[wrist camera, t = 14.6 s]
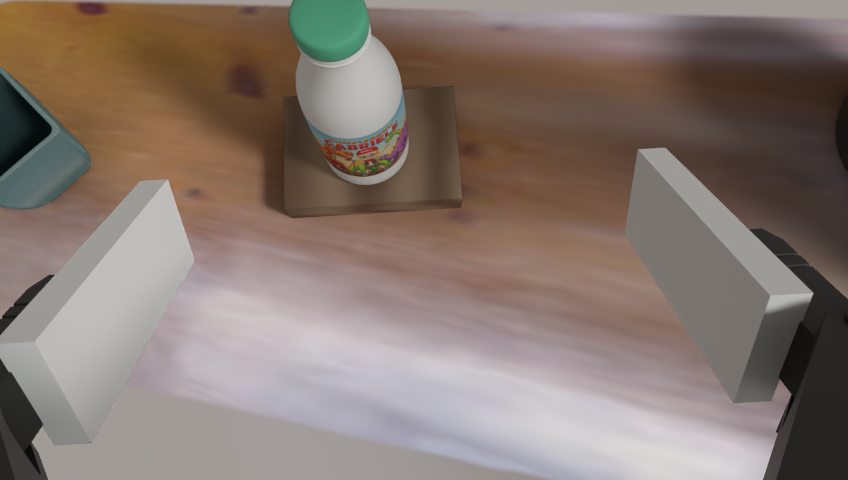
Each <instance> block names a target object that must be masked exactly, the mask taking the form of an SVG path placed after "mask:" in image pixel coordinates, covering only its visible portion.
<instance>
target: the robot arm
mask: <svg viewBox="0 0 848 480" xmlns="http://www.w3.org/2000/svg"><path fill="white" fill-rule="evenodd" d="M837 142H838V147H839V151H840V154H841V157H842V159H843V162H844V164H845V166H846V168H847V169H848V97H847V98H846V100H845V101H844V103H843V105H842V107H841V110H840V113H839V116H838V121H837ZM625 235H626V237H627V238H628V240H629V242H630V243H631V245H632V246H633V248H634V249H635V251H636V252H637V254H638V256H639V257H640V259H641V260H642V262H643V263H644V265H645V266H646V268H647V270H648V271H649V273H650V274H651V276H652V277H653V279H654V280H655V282H656V284H657V285H658V287H659V288H660V290H661V291H662V293H663V294H664V296H665V298H666V299H667V301H668V302H669V304H670V305H671V307H672V308H673V310H674V311H675V313H676V315H677V316H678V318H679V319H680V321H681V322H682V324H683V325H684V327H685V329H686V330H687V332H688V333H689V335H690V336H691V338H692V339H693V341H694V343H695V344H696V346H697V347H698V349H699V350H700V352H701V353H702V355H703V357H704V358H705V360H706V361H707V363H708V364H709V366H710V367H711V369H712V371H713V372H714V374H715V375H716V377H717V378H718V380H719V381H720V383H721V385H722V386H723V388H724V389H725V391H726V392H727V394H728V395H729V397H730V399H731V400H732V402H733V403H744V402H760V401H771V400H772V397H773V395H774V392H775V390H776V387H777V385H778V382H779V379H780V380H781V381H782V382H783V384H784V385H785V386H786V387H787V389H788V390H789V391H790V393H791V394H792V395H791V397H790V400H789V402H788V404H787V407H786V409H785V411H784V414H783V416H782V419H781V421H780V423H779V426H778V428H777V431H776V432H777V433H778V435H777V438H776V441H775V444H774V447H773V450H772V454H771V457H770V460H769V463H768V466H767V469H766V472H765V475H764V479H763V480H848V299H847V298H846V297H845V296H844V295H843V294H841V293H840V292H839V291H838V290H837V289H836V288H835V287H834V286H833V285H832V284H831V283H830V282H828V281H827V280H826V279H825V278H824V277H823V276H822V275H821V274H820V273H819V272H818V271H816V270H815V269H814V268H813V267H810V266H809V263H808V262H807V261H806V260H805V259H803V258H802V257H801V256H798V255H797V252H796V251H795V250H794V249H793V248H791V247H790V246H789V245H788V244H787V243H786V242H785V241H784V240H783V239H781V238H779V237H777V236H775V235H773V234H771V233H769V232H767V231H765V230H763V229H748V228H747V227H746V226H745V225H744V224H743V223H742V222H741V221H740V220H739V219H738V218H737V217H736V216H735V215H734V214H733V213H731V212H730V211H729V210H728V209H727V208H726V207H725V206H724V205H723V204H722V203H721V202H720V201H719V200H718V199H717V198H716V197H715V196H714V195H713V194H712V193H711V192H710V191H709V190H708V189H707V188H706V187H705V186H704V185H703V184H702V183H701V182H700V181H699V180H698V179H697V178H696V177H695V176H694V175H693V174H692V173H691V172H690V171H689V170H688V169H687V168H686V167H685V166H684V165H683V164H682V163H681V162H680V161H679V160H677V159H676V158H675V157H674V156H673V155H672V154H671V153H670V152H669V151H668V150H667V149H666V148H651V149H638V152H637V158H636V164H635V171H634V177H633V183H632V190H631V196H630V202H629V209H628V215H627V221H626V228H625ZM193 263H194V258H193V255H192V252H191V248H190V245H189V242H188V239H187V236H186V233H185V230H184V227H183V224H182V221H181V218H180V215H179V212H178V209H177V206H176V203H175V200H174V197H173V194H172V191H171V188H170V185H169V182H168V179H164V180H149V181H140V182H139V183H138V184H137V185H136V186H135V187H134V189H133V190H132V191H131V192H130V193H129V194H128V195H127V196H126V197H125V198H124V200H123V201H122V202H121V203H120V204H119V205H118V206H117V207H116V208H115V209H114V211H113V212H112V213H111V214H110V215H109V216H108V217H107V218H106V219H105V220H104V222H103V223H102V224H101V225H100V226H99V227H98V228H97V229H96V230H95V231H94V233H93V234H92V235H91V236H90V237H89V238H88V239H87V240H86V241H85V242H84V244H83V245H82V246H81V247H80V248H79V249H78V250H77V251H76V252H75V254H74V255H73V256H72V257H71V258H70V259H69V260H68V261H67V262H66V263H65V265H64V266H63V267H62V268H61V269H60V270H59V271H58V272H57V273H56V274H55V275H48V276H47V277H45V278H44V279H42V280H41V281H39V282H38V283H36V284H35V285H33V286H32V287H30V288H28V289H27V290H26V291H25V292H24V294H23V295H22V296H21V297H20V298H19V299H18V300H17V301H16V302H15V303H14V307H10V308H9V309H8V310H7V312H6V313H5V314H4V315H3V316H2V319H0V480H48V478H47V476H46V472H45V470H44V467H43V464H42V462H41V459H40V456H39V453H38V452H37V450H36V449H35V447H34V445H33V444H32V440H33V439H34V437H35V436H36V434H37V433H38V431H39V430H40V428H41V427H42V426H43V428H44V429H45V431H46V433H47V434H48V436H49V437H50V439H51V441H52V442H53V444H54V445H66V444H84V443H92V442H93V440H94V438H95V436H96V434H97V433H98V431H99V429H100V427H101V426H102V424H103V422H104V420H105V419H106V417H107V415H108V413H109V411H110V410H111V408H112V406H113V404H114V403H115V401H116V399H117V397H118V396H119V394H120V392H121V390H122V388H123V387H124V385H125V383H126V381H127V380H128V378H129V376H130V374H131V373H132V371H133V369H134V367H135V366H136V364H137V362H138V360H139V358H140V357H141V355H142V353H143V351H144V350H145V348H146V346H147V344H148V343H149V341H150V339H151V337H152V335H153V334H154V332H155V330H156V328H157V327H158V325H159V323H160V321H161V320H162V318H163V316H164V314H165V312H166V311H167V309H168V307H169V305H170V304H171V302H172V300H173V298H174V297H175V295H176V293H177V291H178V289H179V288H180V286H181V284H182V282H183V281H184V279H185V277H186V275H187V274H188V272H189V270H190V268H191V266H192V265H193Z"/></svg>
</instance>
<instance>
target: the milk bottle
mask: <svg viewBox="0 0 848 480" xmlns="http://www.w3.org/2000/svg"><path fill="white" fill-rule="evenodd" d="M289 26H290V30H291V33H292V35H293V38H294V40H295V42H296V44H297V47H298V49H299V51H300V52H301V56H300V58H299V61H298V65H297V70H296V91H297V96H298V100H299V104H300V106H301V109H302V111H303V114H304V116H305V118H306V121H307V123H308V125H309V127H310V129H311V131H312V133H313V135H314V137H315V139H316V141H317V143H318V145H319V147H320V149H321V150H322V152H323V154H324V156H325V158H326V160H327V162H328V164H329V165H330V167H331V168H332V170H333V171H334V172H335V173H336V174H337V175H338V176H340V177H341V178H342V179H344V180H346V181H348V182H351V183H354V184H358V185H372V184H377V183H380V182H383V181H385V180H387V179H389V178H390V177H392V176H393V175H394V174H395V173H396V172H398V170H399V169H400V168H401V167H402V165H403V163H404V162H405V159H406V157H407V154H408V148H409V138H408V128H407V119H406V110H405V102H404V95H403V88H402V83H401V78H400V74H399V71H398V68H397V66H396V63H395V61H394V59H393V57H392V56H391V54H390V52H389V51H388V50H387V48H386V47H385V46H384V45H383V44H382V43H381V42H380V41H379V40H378V39H377V38H375V37H374V36H373V35H371V27H370V23H369V16H368V11H367V8H366V5H365V2H364V1H363V0H293V2H292V4H291V6H290V10H289Z"/></svg>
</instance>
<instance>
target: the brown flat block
mask: <svg viewBox="0 0 848 480" xmlns="http://www.w3.org/2000/svg"><path fill="white" fill-rule="evenodd" d="M403 95H404V102H405V110H406V119H407V128H408V138H409V148H408V154H407V157H406V159H405V162H404V163H403V165H402V167H401V168H400V169H399V170H398V172H396V173H395V174H394V175H393V176H392V177H390V178H389V179H387V180H385V181H383V182H380V183H377V184H372V185H358V184H354V183H351V182H348V181H346V180H344V179H342V178H341V177H340V176H338V175H337V174H336V173H335V172H334V171H333V170H332V168H331V167H330V165H329V164H328V162H327V160H326V158H325V156H324V154H323V152H322V150H321V149H320V147H319V145H318V143H317V141H316V139H315V137H314V135H313V133H312V131H311V129H310V127H309V125H308V123H307V121H306V118H305V116H304V114H303V111H302V109H301V106H300V104H299V100H298V96H293V97H284V210H285V211H286V212H287V213H288V214H289V215H290V216H291V217H292V218H302V217H318V216H334V215H350V214H365V213H381V212H397V211H413V210H428V209H444V208H460V207H461V203H462V188H461V175H460V162H459V150H458V137H457V125H456V112H455V100H454V87H453V86H449V87H433V88H418V89H403Z"/></svg>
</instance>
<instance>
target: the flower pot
mask: <svg viewBox="0 0 848 480" xmlns="http://www.w3.org/2000/svg"><path fill="white" fill-rule="evenodd" d="M90 163H91V160H90V156H89V153H88V152H87V150H86V149H85V148H84V147H83V146H82V145H81V144H80V143H79V142H78V141H77V140H76V139H75V138H74V137H73V136H72V134H71V133H70V132H69V131H68V130H67V129H66V128H65V127H64V126H63V125H62V124H61V123H60V122H59V121H58V120H57V119H56V118H55V117H54V116H53V115H52V114H51V113H50V112H49V111H48V110H47V109H46V108H45V107H44V106H43V105H42V103H41V102H40V101H39V100H38V99H37V98H36V97H35V96H34V95H32V94H31V93H30V92H29V91H28V90H27V89H26V88H25V87H23V86H22V85H21V84H20V83H19V82H18V81H17V80H15V79H14V78H13V77H12V76H11V75H10V74H9V73H7V72H6V71H5V70H4V69H3V68H2V67H0V207H5V208H11V209H20V210H25V209H33V208H37V207H40V206H43V205H45V204H47V203H49V202H51V201H53V200H55V199H56V198H57V197H58V196H59V195H60V194H61V193H62V192H64V191H65V190H66V189H67V188H68V187H69V186H70V185H71V184H72V183H74V182H75V181H76V180H77V179H78V178H79V177H81V176H82V175H83V174H84V173H85V172H86V171H87V170H88V169H89V168H90Z"/></svg>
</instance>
